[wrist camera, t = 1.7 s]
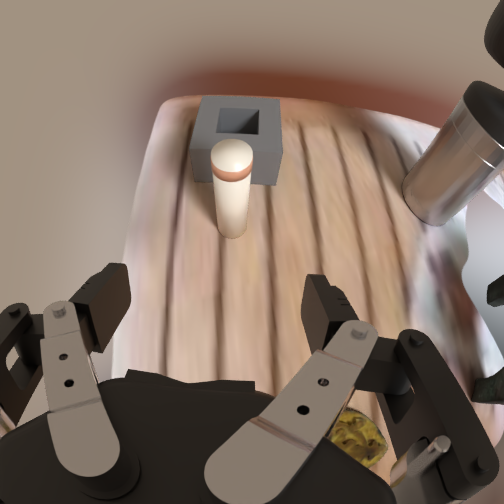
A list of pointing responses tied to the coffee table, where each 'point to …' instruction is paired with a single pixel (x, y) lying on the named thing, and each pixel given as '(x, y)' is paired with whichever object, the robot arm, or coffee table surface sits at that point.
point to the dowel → (231, 185)
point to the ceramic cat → (500, 384)
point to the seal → (359, 438)
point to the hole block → (238, 134)
